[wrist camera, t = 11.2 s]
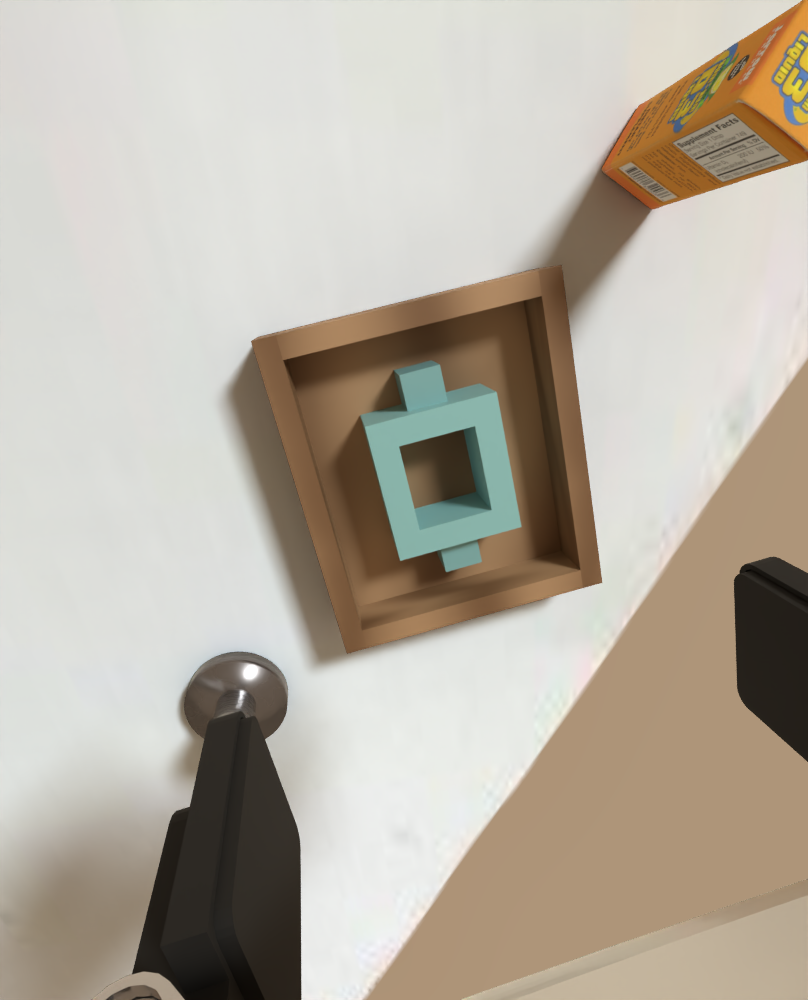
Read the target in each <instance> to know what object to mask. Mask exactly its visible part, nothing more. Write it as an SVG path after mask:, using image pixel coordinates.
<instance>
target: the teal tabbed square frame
mask: <svg viewBox="0 0 808 1000" xmlns="http://www.w3.org/2000/svg"><path fill="white" fill-rule="evenodd" d="M394 374H395V378H396V383H397V387H398V391H399V395H400V399H401V403H402V404H400V405H396V406H392V407H388V408H385V409H381V410H377V411H373V412H370V413H366V414H362V415H360V417H361V420H362V424H363V428H364V432H365V435H366V439H367V443H368V447H369V450H370V454H371V458H372V462H373V465H374V469H375V473H376V477H377V480H378V484H379V488H380V492H381V495H382V499H383V503H384V507H385V510H386V514H387V518H388V522H389V525H390V529H391V533H392V537H393V540H394V543H395V546H396V549H397V552H398V555H399V558H400V561H402V560H405V559H409V558H412V557H416V556H420V555H423V554H427V553H430V552H434V551H437V553H438V556H439V558H440V561H441V563H442V565H443V567H444V569H445V571H446V572H448V571H452V570H455V569H459V568H463V567H466V566H470V565H473V564H477V563H480V562H482V560H481V555H480V550H479V546H478V541H477V539H480V538H484V537H487V536H491V535H495V534H498V533H502V532H505V531H509V530H513V529H516V528H520V527H521V522H520V516H519V511H518V505H517V500H516V494H515V489H514V483H513V478H512V473H511V467H510V462H509V456H508V451H507V445H506V440H505V434H504V429H503V424H502V418H501V413H500V407H499V402H498V396H497V392H496V391H494V390H492V389H490V388H488V387H486V386H484V385H482V384H480V383H479V384H475V385H471V386H468V387H464V388H460V389H456V390H453V391H449V392H446V391H445V386H444V381H443V377H442V372H441V367H440V364H438V363H436V362H434V361H432V360H430V361H426V362H423V363H419V364H415V365H411V366H407V367H403V368H400V369H396V370H394ZM462 429H463V430H464V435H465V440H466V444H467V449H468V454H469V459H470V464H471V468H472V473H473V478H474V483H475V488H476V492H474V493H470V494H466V495H463V496H459V497H456V498H452V499H448V500H445V501H441V502H437V503H434V504H430V505H426V506H423V507H419V508H416V509H414V505H413V501H412V497H411V493H410V489H409V485H408V481H407V477H406V473H405V469H404V465H403V461H402V457H401V453H400V449H399V446H403V445H406V444H410V443H414V442H418V441H421V440H425V439H429V438H432V437H436V436H440V435H444V434H447V433H451V432H455V431H458V430H462Z"/></svg>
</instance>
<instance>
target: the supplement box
mask: <svg viewBox="0 0 808 1000" xmlns="http://www.w3.org/2000/svg"><path fill="white" fill-rule="evenodd" d="M807 160H808V0H802V1H801V2H800V3H798V4H797V5H795V6H794V7H792V8H791V9H789V10H788V11H786V12H784V13H783V14H781V15H780V16H778V17H777V18H775V19H774V20H772V21H771V22H769V23H768V24H766V25H764V26H763V27H761V28H760V29H758V30H757V31H755V32H753V33H752V34H750V35H749V36H747V37H746V38H744V39H742V40H740V41H739V42H737V43H736V44H734V45H733V46H731V47H730V48H728V49H727V50H725V51H723V52H722V53H721V54H719V55H717V56H716V57H714V58H713V59H711V60H710V61H708V62H707V63H705V64H704V65H702V66H700V67H699V68H697V69H696V70H694V71H692V72H691V73H689V74H688V75H686V76H685V77H683V78H682V79H680V80H679V81H677V82H676V83H674V84H673V85H671V86H670V87H668V88H667V89H665V90H663V91H662V92H660V93H659V94H657V95H656V96H654V97H653V98H651V99H649V100H648V101H646V102H644V103H642V104H640V105H639V106H638V108H637V109H636V111H635V113H634V114H633V116H632V118H631V119H630V121H629V122H628V124H627V126H626V128H625V129H624V131H623V133H622V134H621V136H620V138H619V140H618V141H617V143H616V145H615V146H614V148H613V150H612V151H611V153H610V155H609V157H608V159H607V160H606V162H605V164H604V165H603V167H602V172H603V173H604V174H606V175H607V176H609V177H610V178H611V179H613V180H614V181H615V182H617V183H618V184H619V185H621V186H622V187H623V188H625V189H626V190H627V191H628V192H630V193H631V194H632V195H634V196H635V197H636V198H638V199H639V200H640V201H641V202H643V203H644V204H645V205H646V206H648V207H649V208H650V209H656V208H659V207H661V206H664V205H667V204H671V203H673V202H677V201H680V200H683V199H687V198H689V197H692V196H695V195H699V194H702V193H705V192H708V191H711V190H715V189H718V188H721V187H724V186H727V185H730V184H733V183H736V182H739V181H742V180H745V179H748V178H752V177H755V176H758V175H761V174H765V173H768V172H771V171H774V170H778V169H781V168H784V167H788V166H791V165H794V164H798V163H801V162H804V161H807Z"/></svg>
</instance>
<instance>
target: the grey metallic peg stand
mask: <svg viewBox="0 0 808 1000" xmlns="http://www.w3.org/2000/svg"><path fill="white" fill-rule="evenodd" d="M287 701H288V686H287V682H286V680H285V677H284V675H283V674H282V672H281V671H280V670H279V668H278V667H277V666H276V665H275V664H273V663H272V662H271V661H269V660H268V659H266V658H264V657H262V656H259V655H257V654H253V653H248V652H230V653H225V654H221V655H218V656H216V657H214V658H212V659H210V660H208V661H207V662H205V663H204V664H203V665H202V666H201V667H200V668H199V669H198V670H197V671H196V672H195V674H194V675H193V677H192V679H191V682H190V685H189V688H188V691H187V694H186V697H185V703H184V707H185V714H186V717H187V720H188V722H189V724H190V725H191V727H192V728H193V729H194V730H195V731H196V733H197V734H199V735H200V736H201V737H203V738H204V739H205V734H206V730H207V725H208V722H209V721H210V720H211V719H214V718H218V717H221V716H224V715H228V714H231V713H235V712H238V711H242V712H243V713H244V714H245V717H246V718H247V717H251V716H255V717H256V718H257V720H258V723H259V725H260V728H261V731H262V733H263V736H264V739H266V738H267V737H269V736H270V735H271V734H273V733H274V732H275V731H276V730H277V729H278V728H279V726H280V725H281V723H282V722H283V720H284V717H285V715H286V711H287Z"/></svg>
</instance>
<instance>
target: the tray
mask: <svg viewBox="0 0 808 1000" xmlns="http://www.w3.org/2000/svg"><path fill="white" fill-rule="evenodd" d="M251 342H252V346H253V349H254V352H255V355H256V359H257V362H258V365H259V368H260V372H261V375H262V378H263V381H264V385H265V388H266V391H267V394H268V398H269V401H270V404H271V407H272V411H273V414H274V417H275V421H276V424H277V427H278V430H279V434H280V437H281V440H282V443H283V447H284V450H285V453H286V456H287V460H288V463H289V466H290V469H291V473H292V476H293V479H294V482H295V486H296V489H297V492H298V495H299V499H300V502H301V505H302V508H303V512H304V515H305V518H306V521H307V525H308V528H309V531H310V534H311V538H312V541H313V544H314V547H315V551H316V554H317V557H318V560H319V564H320V567H321V570H322V573H323V577H324V580H325V583H326V586H327V590H328V593H329V596H330V600H331V603H332V606H333V609H334V613H335V616H336V619H337V622H338V626H339V629H340V632H341V635H342V639H343V642H344V645H345V648H346V652H347V654H348V653H351V652H355V651H358V650H362V649H366V648H369V647H373V646H376V645H380V644H384V643H387V642H391V641H394V640H398V639H401V638H405V637H409V636H412V635H416V634H419V633H423V632H427V631H430V630H434V629H437V628H441V627H444V626H448V625H452V624H455V623H459V622H462V621H466V620H470V619H473V618H477V617H480V616H484V615H488V614H491V613H495V612H498V611H502V610H505V609H509V608H513V607H516V606H520V605H523V604H527V603H531V602H534V601H538V600H541V599H545V598H549V597H552V596H556V595H559V594H563V593H566V592H570V591H574V590H577V589H581V588H584V587H588V586H592V585H595V584H599V583H602V577H601V569H600V562H599V554H598V546H597V538H596V530H595V522H594V515H593V507H592V499H591V491H590V483H589V476H588V468H587V460H586V452H585V444H584V436H583V429H582V421H581V413H580V405H579V397H578V390H577V382H576V374H575V366H574V358H573V350H572V343H571V335H570V327H569V319H568V311H567V304H566V296H565V288H564V280H563V272H562V265H558V266H551V267H545V268H538V269H533V270H529V271H525V272H521V273H517V274H513V275H509V276H505V277H501V278H496V279H492V280H488V281H484V282H480V283H476V284H472V285H468V286H464V287H460V288H456V289H452V290H448V291H443V292H439V293H435V294H431V295H427V296H423V297H419V298H415V299H411V300H407V301H403V302H399V303H395V304H390V305H386V306H382V307H378V308H374V309H370V310H366V311H362V312H358V313H354V314H350V315H346V316H342V317H338V318H333V319H329V320H325V321H321V322H317V323H313V324H309V325H305V326H301V327H297V328H293V329H289V330H285V331H280V332H276V333H272V334H268V335H264V336H260V337H257V338H256V339H254V340H252V341H251ZM430 360H432V361H434V362H436V363H438V364H440V367H441V372H442V377H443V381H444V386H445V391H446V392H449V391H453V390H456V389H460V388H464V387H468V386H471V385H475V384H479V383H480V384H482V385H484V386H486V387H488V388H490V389H492V390H494V391H496V392H497V396H498V402H499V407H500V413H501V418H502V424H503V429H504V434H505V440H506V445H507V451H508V456H509V462H510V467H511V473H512V478H513V483H514V489H515V494H516V500H517V505H518V511H519V516H520V522H521V527H520V528H516V529H513V530H509V531H505V532H502V533H498V534H495V535H491V536H487V537H484V538H480V539H477V541H478V546H479V550H480V555H481V560H482V562H480V563H477V564H473V565H470V566H466V567H463V568H459V569H455V570H452V571H448V572H446V571H445V569H444V567H443V565H442V563H441V561H440V558H439V556H438V553H437V551H434V552H430V553H427V554H423V555H420V556H416V557H412V558H409V559H405V560H402V561H400V558H399V555H398V552H397V549H396V546H395V543H394V540H393V537H392V533H391V529H390V525H389V522H388V518H387V514H386V510H385V507H384V503H383V499H382V495H381V492H380V488H379V484H378V480H377V477H376V473H375V469H374V465H373V462H372V458H371V454H370V450H369V447H368V443H367V439H366V435H365V432H364V428H363V424H362V420H361V417H360V415H362V414H366V413H370V412H373V411H377V410H381V409H385V408H388V407H392V406H396V405H400V404H402V403H401V399H400V395H399V391H398V387H397V383H396V378H395V374H394V370H396V369H400V368H403V367H407V366H411V365H415V364H419V363H423V362H426V361H430ZM399 449H400V453H401V457H402V461H403V465H404V469H405V473H406V477H407V481H408V485H409V489H410V493H411V497H412V501H413V505H414V509H416V508H419V507H423V506H426V505H430V504H434V503H437V502H441V501H445V500H448V499H452V498H456V497H459V496H463V495H466V494H470V493H474V492H476V488H475V483H474V478H473V473H472V468H471V464H470V459H469V454H468V449H467V444H466V440H465V435H464V430H463V429H462V430H458V431H455V432H451V433H447V434H444V435H440V436H436V437H432V438H429V439H425V440H421V441H418V442H414V443H410V444H406V445H403V446H399Z"/></svg>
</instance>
